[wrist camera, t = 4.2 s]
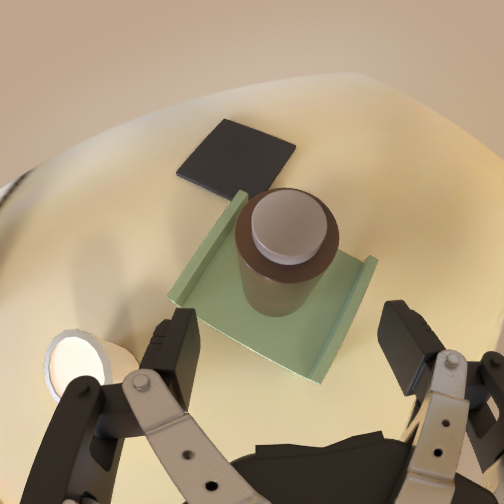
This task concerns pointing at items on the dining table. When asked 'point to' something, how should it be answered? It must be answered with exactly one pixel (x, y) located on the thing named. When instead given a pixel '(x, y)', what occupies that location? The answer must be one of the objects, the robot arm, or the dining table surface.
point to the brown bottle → (283, 248)
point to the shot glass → (84, 361)
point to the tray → (264, 327)
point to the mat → (236, 160)
